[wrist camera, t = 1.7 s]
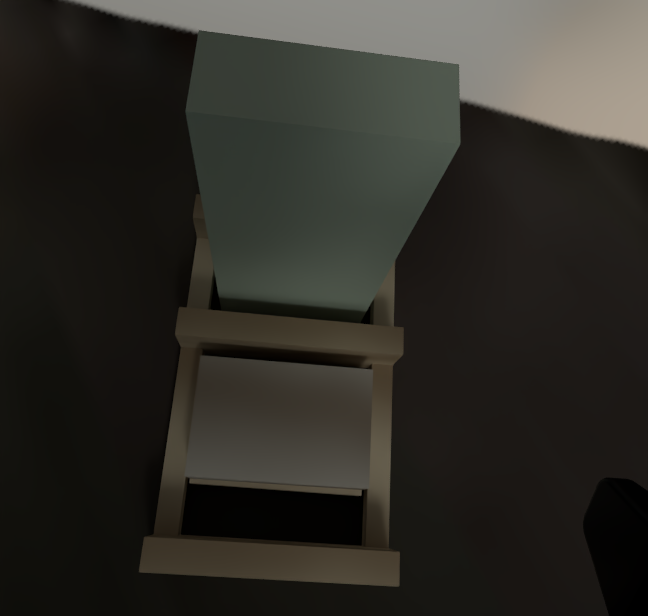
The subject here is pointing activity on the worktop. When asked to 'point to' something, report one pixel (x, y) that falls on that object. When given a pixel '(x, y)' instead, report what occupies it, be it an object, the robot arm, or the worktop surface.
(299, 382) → the offcut upper
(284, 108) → the panel
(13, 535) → the worktop surface
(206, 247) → the rack
